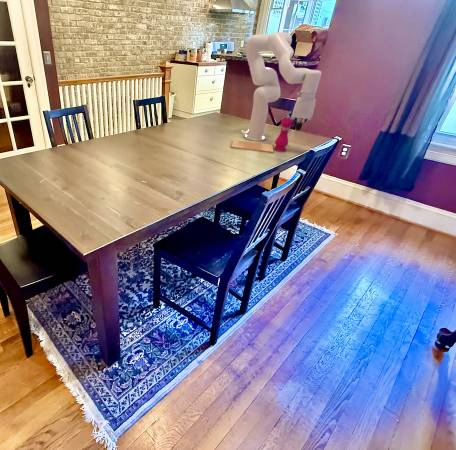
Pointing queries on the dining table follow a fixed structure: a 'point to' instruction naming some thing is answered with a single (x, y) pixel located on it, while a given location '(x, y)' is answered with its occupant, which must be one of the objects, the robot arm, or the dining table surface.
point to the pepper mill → (283, 135)
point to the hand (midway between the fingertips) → (297, 130)
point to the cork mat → (252, 146)
